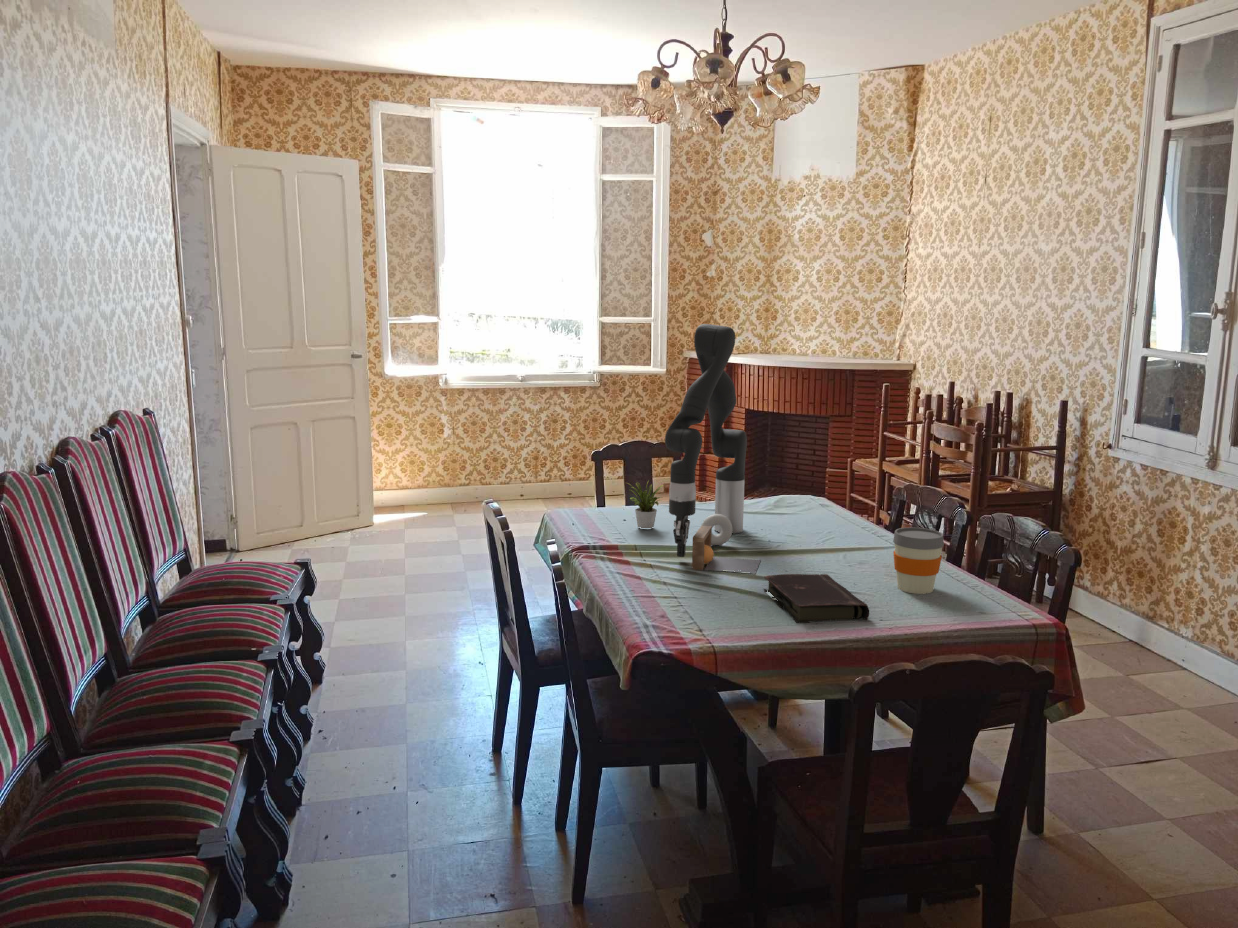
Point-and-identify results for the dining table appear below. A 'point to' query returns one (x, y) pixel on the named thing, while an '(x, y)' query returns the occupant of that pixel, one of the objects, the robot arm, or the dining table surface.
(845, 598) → the diary
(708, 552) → the ball
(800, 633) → the dining table surface
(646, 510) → the house plant
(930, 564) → the reusable coffee cup
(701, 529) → the bridge
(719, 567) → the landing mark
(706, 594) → the dining table surface
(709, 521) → the donut
